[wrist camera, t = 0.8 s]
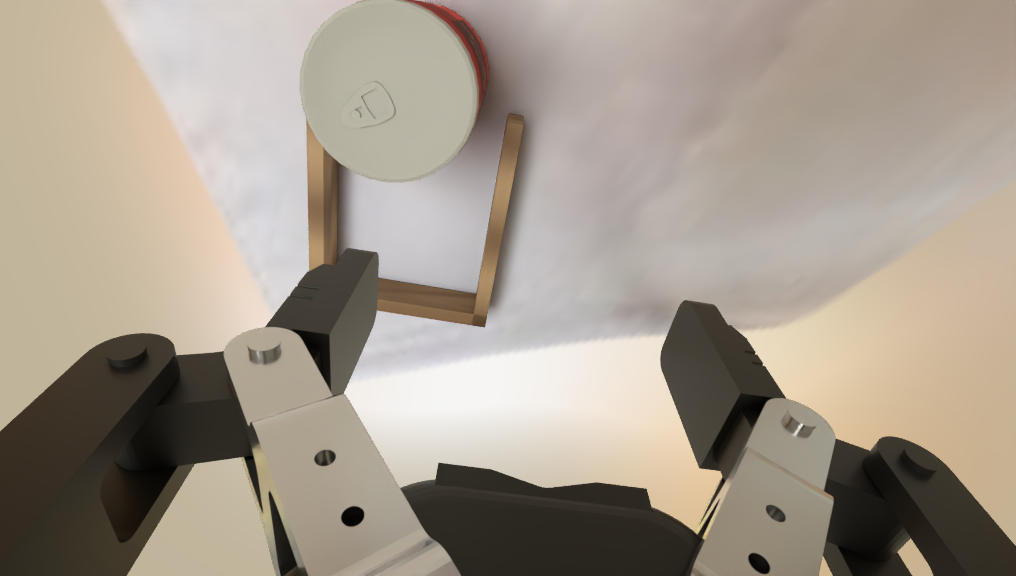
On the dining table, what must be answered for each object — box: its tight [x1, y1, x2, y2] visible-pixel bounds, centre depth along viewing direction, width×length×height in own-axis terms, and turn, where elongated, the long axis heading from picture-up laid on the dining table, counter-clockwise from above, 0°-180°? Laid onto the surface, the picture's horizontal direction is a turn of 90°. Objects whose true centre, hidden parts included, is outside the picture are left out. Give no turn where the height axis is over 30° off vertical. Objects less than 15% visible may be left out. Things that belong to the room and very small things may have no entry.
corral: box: [306, 113, 524, 327], centre depth 34 cm, size 15×13×3 cm
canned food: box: [300, 0, 488, 182], centre depth 26 cm, size 8×8×11 cm
